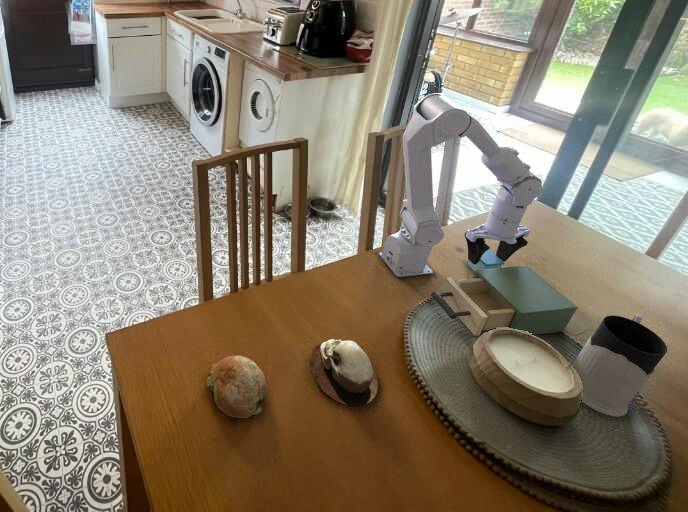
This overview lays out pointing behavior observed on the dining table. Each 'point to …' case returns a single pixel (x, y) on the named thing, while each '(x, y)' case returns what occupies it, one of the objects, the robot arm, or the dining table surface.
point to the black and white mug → (617, 363)
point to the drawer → (474, 304)
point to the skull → (344, 372)
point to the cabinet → (529, 299)
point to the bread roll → (237, 386)
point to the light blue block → (487, 262)
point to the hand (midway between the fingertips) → (486, 260)
